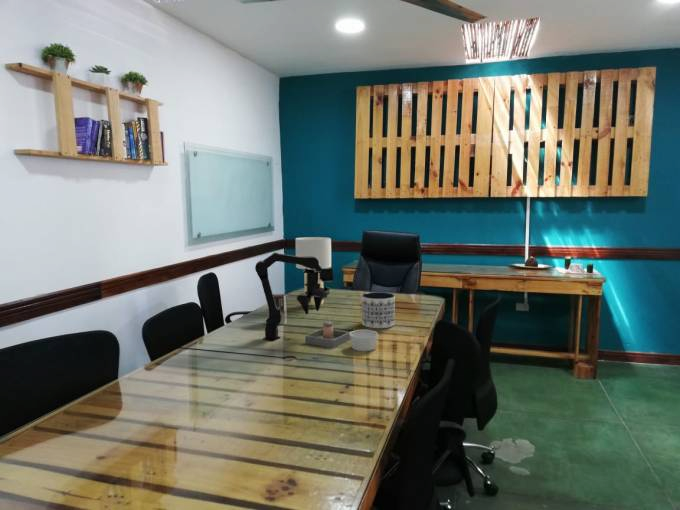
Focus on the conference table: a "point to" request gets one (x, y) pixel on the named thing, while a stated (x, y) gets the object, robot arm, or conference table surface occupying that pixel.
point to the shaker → (328, 330)
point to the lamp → (318, 249)
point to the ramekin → (363, 340)
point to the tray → (318, 339)
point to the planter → (378, 310)
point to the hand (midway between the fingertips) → (312, 312)
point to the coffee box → (281, 306)
